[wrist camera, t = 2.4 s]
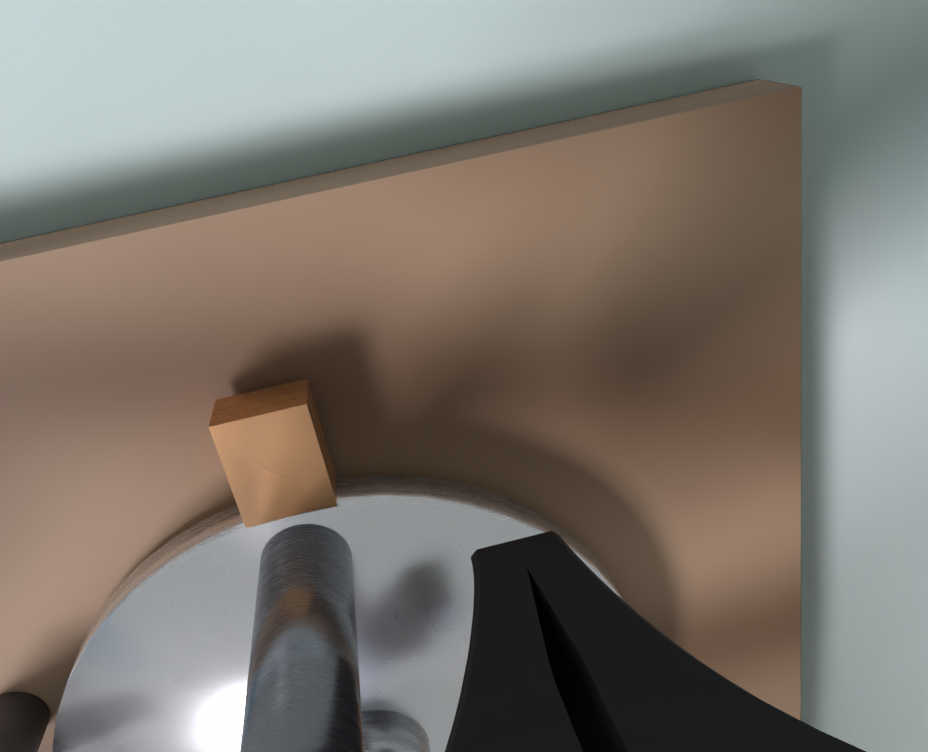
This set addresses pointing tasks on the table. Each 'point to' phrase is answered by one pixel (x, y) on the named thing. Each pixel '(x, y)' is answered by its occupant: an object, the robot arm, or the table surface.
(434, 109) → the table surface
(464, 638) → the flange
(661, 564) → the base board
